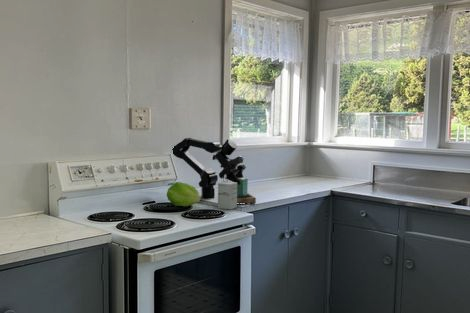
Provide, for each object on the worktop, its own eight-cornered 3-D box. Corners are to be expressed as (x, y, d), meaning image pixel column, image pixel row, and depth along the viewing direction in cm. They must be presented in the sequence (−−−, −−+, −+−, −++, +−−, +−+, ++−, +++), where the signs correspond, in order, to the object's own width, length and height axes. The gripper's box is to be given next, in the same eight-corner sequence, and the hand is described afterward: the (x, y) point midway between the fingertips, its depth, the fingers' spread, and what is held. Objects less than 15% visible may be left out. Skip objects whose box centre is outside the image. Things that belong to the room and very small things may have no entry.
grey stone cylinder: (217, 208, 230) (217, 183, 229) (224, 205, 237) (224, 180, 236) (230, 209, 227) (230, 184, 226) (237, 207, 234) (237, 182, 232)
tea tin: (235, 197, 245) (235, 178, 244) (239, 195, 249) (240, 177, 247) (242, 198, 242) (243, 179, 241) (247, 196, 246) (247, 178, 245)
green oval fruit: (187, 213, 220) (187, 187, 219) (162, 206, 235) (161, 182, 233) (209, 208, 230) (209, 184, 229) (183, 202, 244) (183, 179, 243)
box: (231, 204, 238) (231, 199, 238) (225, 199, 251) (224, 194, 250) (255, 203, 242) (255, 197, 241) (248, 198, 254) (248, 193, 254)
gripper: (224, 152, 237) (242, 176, 233) (243, 149, 253) (260, 171, 249) (211, 166, 243) (228, 190, 238) (230, 162, 258) (247, 184, 254)
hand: (242, 183), depth 244 cm, fingers closed on tea tin, 4 cm apart
